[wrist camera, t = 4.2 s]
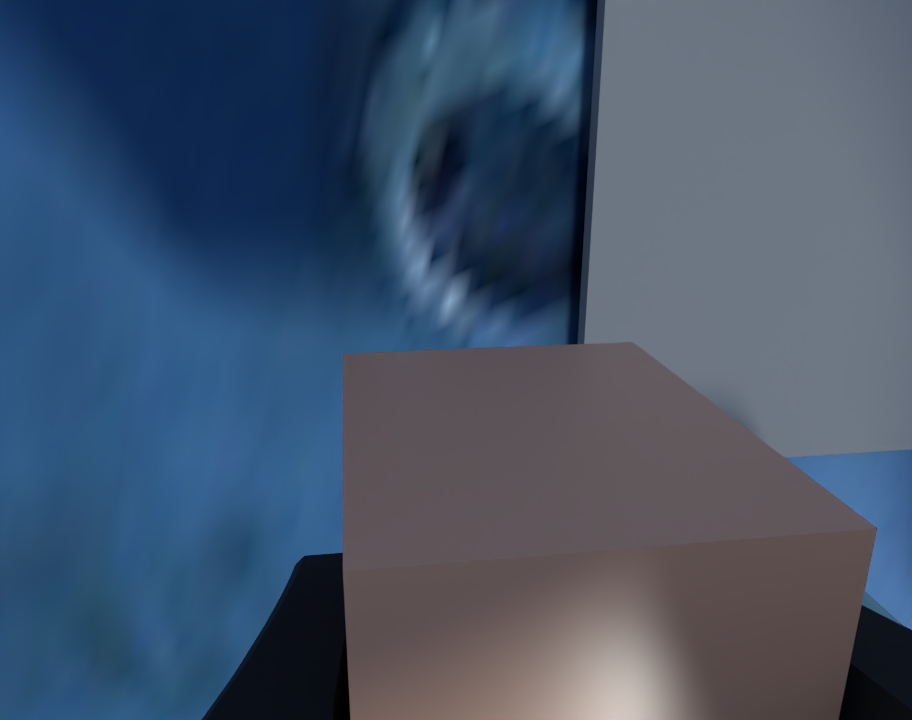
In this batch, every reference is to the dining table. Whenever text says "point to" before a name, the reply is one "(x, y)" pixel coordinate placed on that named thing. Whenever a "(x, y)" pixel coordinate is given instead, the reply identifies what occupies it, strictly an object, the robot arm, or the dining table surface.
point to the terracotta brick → (582, 546)
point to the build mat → (758, 210)
